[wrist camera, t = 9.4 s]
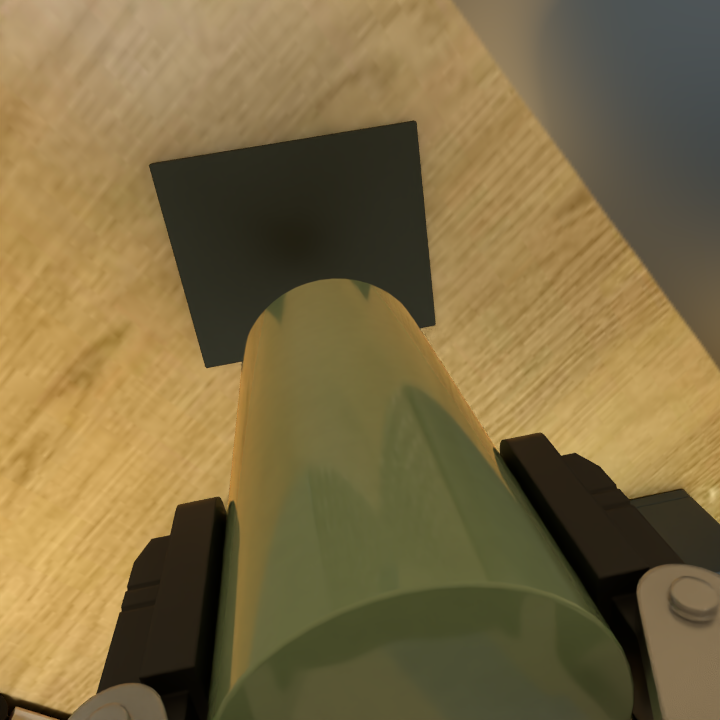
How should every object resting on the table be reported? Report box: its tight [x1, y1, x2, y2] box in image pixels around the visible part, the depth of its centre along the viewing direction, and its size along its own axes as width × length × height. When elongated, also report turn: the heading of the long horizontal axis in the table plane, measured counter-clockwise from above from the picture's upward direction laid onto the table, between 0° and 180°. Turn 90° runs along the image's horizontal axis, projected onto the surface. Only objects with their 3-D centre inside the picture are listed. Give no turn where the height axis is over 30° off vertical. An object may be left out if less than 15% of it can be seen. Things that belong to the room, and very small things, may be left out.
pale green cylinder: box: [207, 279, 634, 720], centre depth 12 cm, size 5×7×11 cm
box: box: [630, 489, 720, 575], centre depth 38 cm, size 13×12×7 cm
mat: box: [149, 121, 436, 368], centre depth 29 cm, size 12×10×1 cm
